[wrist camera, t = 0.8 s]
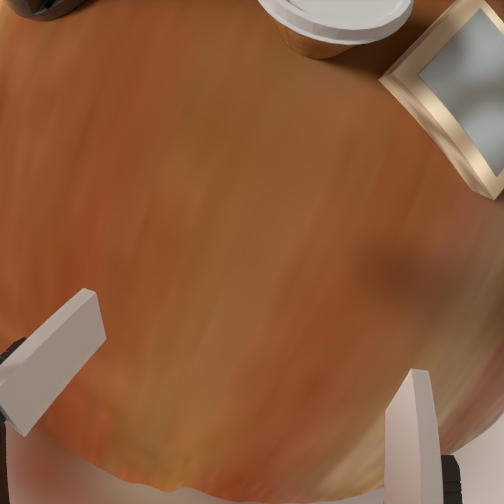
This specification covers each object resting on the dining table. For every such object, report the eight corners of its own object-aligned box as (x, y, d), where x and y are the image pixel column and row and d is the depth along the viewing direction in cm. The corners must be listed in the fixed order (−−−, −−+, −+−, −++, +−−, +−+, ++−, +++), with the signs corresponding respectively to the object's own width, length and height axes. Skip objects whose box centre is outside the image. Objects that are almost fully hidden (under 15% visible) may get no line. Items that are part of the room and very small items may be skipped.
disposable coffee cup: (343, -25, 20) (373, -96, 9) (385, 63, 23) (448, 26, 12) (244, 0, 22) (221, -71, 11) (284, 90, 25) (287, 58, 13)
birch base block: (377, 80, 23) (393, 72, 19) (455, 1, 19) (475, -12, 15) (472, 191, 26) (495, 200, 22) (535, 106, 21) (559, 107, 17)
